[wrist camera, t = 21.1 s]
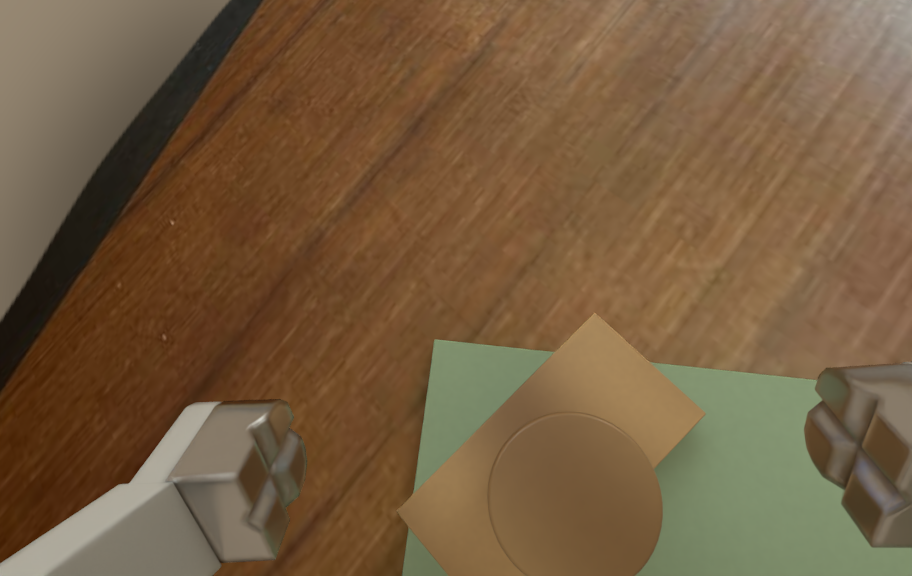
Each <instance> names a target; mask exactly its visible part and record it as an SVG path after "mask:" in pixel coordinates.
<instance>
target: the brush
mask: <svg viewBox="0 0 912 576" xmlns="http://www.w3.org/2000/svg"><path fill="white" fill-rule="evenodd" d="M705 414H706V413H705V412H704V411H703V410H702V409H701V408H700V407H699V406H697V405H696V404H695V403H694V402H693V401H692V400H691V399H690V398H689V397H688V396H686V395H685V394H684V393H683V392H682V391H681V390H680V389H679V388H678V387H677V386H675V385H674V384H673V383H672V382H671V381H670V380H669V379H668V378H667V377H665V376H664V375H663V374H662V373H661V372H660V371H659V370H658V369H657V368H656V367H654V366H653V365H652V364H651V363H650V362H649V361H648V360H647V359H646V358H645V357H643V356H642V355H641V354H640V353H639V352H638V351H637V350H636V349H635V348H634V347H632V346H631V345H630V344H629V343H628V342H627V341H626V340H625V339H624V338H622V337H621V336H620V335H619V334H618V333H617V332H616V331H615V330H614V329H613V328H611V327H610V326H609V325H608V324H607V323H606V322H605V321H604V320H603V319H602V318H600V317H599V316H598V315H597V314H596V313H593V314H592V315H591V316H590V317H589V318H588V319H587V320H586V321H585V322H584V323H583V324H582V325H581V326H580V327H579V328H578V329H577V330H576V331H575V332H574V333H573V334H572V335H571V336H570V337H569V338H568V339H567V340H566V341H565V342H564V343H563V344H562V345H561V346H560V347H559V348H558V349H557V350H556V351H555V352H554V353H553V354H552V355H551V356H550V357H549V358H548V359H547V360H546V361H545V362H544V363H543V364H542V365H541V366H540V367H539V368H538V369H537V370H536V371H535V372H534V373H533V374H532V375H531V376H530V377H529V378H528V379H527V380H526V381H525V382H524V383H523V384H522V385H521V386H520V387H519V388H518V389H517V390H516V391H515V392H514V393H513V394H512V395H511V396H510V397H509V398H508V399H507V400H506V401H505V402H504V403H503V404H502V405H501V406H500V407H499V408H498V409H497V410H496V411H495V413H494V414H493V415H492V416H491V417H490V418H489V419H488V420H487V421H486V422H485V423H484V424H483V425H482V426H481V427H480V428H479V429H478V430H477V431H476V432H475V433H474V434H473V435H472V436H471V437H470V438H469V439H468V440H467V441H466V442H465V443H464V444H463V445H462V446H461V447H460V448H459V449H458V450H457V451H456V452H455V453H454V454H453V455H452V456H451V457H450V458H449V459H448V460H447V461H446V462H445V463H444V464H443V465H442V466H441V467H440V468H439V469H438V470H437V471H436V472H435V473H434V474H433V475H432V476H431V477H430V478H429V479H428V480H427V481H426V482H425V483H424V484H423V485H422V486H421V487H420V488H419V489H418V490H417V491H416V492H415V493H414V494H413V495H412V496H411V497H410V498H409V499H408V500H407V501H406V502H405V503H404V504H403V505H402V506H401V507H400V508H399V509H398V510H397V511H396V512H397V513H398V515H399V516H400V517H401V518H402V520H403V521H404V522H405V523H406V524H407V526H408V527H409V528H410V529H411V531H412V532H413V533H414V534H415V535H416V537H417V538H418V539H419V540H420V542H421V543H422V544H423V545H424V546H425V548H426V549H427V550H428V551H429V553H430V554H431V555H432V556H433V557H434V559H435V560H436V561H437V562H438V564H439V565H440V566H441V567H442V568H443V570H444V571H445V572H446V573H447V575H448V576H635V575H636V574H637V573H639V572H640V571H641V569H642V568H643V567H644V566H645V564H646V563H647V562H648V560H649V559H650V557H651V555H652V553H653V552H654V550H655V547H656V545H657V542H658V540H659V536H660V532H661V528H662V519H663V502H662V495H661V489H660V485H659V482H658V478H657V476H656V473H655V471H654V469H655V468H656V467H657V465H658V464H659V463H660V462H661V461H662V460H663V459H664V458H665V457H666V456H667V455H668V454H669V453H670V452H671V451H672V450H673V449H674V447H675V446H676V445H677V444H678V443H679V442H680V441H681V440H682V439H683V438H684V437H685V436H686V435H687V434H688V433H689V432H690V431H691V429H692V428H693V427H694V426H695V425H696V424H697V423H698V422H699V421H700V420H701V419H702V418H703V417H704V416H705Z"/></svg>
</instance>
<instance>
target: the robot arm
mask: <svg viewBox="0 0 912 576" xmlns="http://www.w3.org/2000/svg"><path fill="white" fill-rule="evenodd" d="M815 391H816V392H817V394H818V395H819V396H820V398H821V399H822V401H821V402H820V403H818V404H817V405H816V406H815V407H814V408H812V409H811V410H810V411H809V412H808V413H807V418H806V422H805V426H804V435H805V442H806V448H807V451H808V453H809V455H810V458H811V460H812V462H813V464H814V465H815V467H816V468H817V470H818V471H819V473H820V474H821V476H822V477H823V478H825V479H827V480H828V481H830V482H832V483H833V484H835V485H836V486H838V487H840V488H841V489H843V493H842V499H841V505H842V506H843V507H844V509H845V510H846V512H847V513H848V515H849V516H850V517H851V519H852V520H853V522H854V523H855V525H856V526H857V527H858V529H859V530H860V532H861V533H862V535H863V536H864V537H865V539H866V540H867V542H868V543H869V545H870V546H871V547H872V548H912V362H904V363H901V364H899V363H895V364H880V365H864V366H848V367H833V368H826V369H825V370H824V371H823V372H822V373H821V374H820V375H819V377H818V380H817V383H816V386H815ZM293 418H294V416H293V414H292V411H291V409H290V407H289V405H288V402H286V401H284V400H281V399H270V400H239V401H223V402H196V403H194V404H192V405H190V406H188V407H186V408H185V409H184V411H183V412H182V413H181V415H180V416H179V417H178V419H177V420H176V421H175V423H174V424H173V425H172V427H171V428H170V429H169V431H168V432H167V434H166V435H165V436H164V438H163V439H162V440H161V442H160V443H159V444H158V446H157V447H156V448H155V450H154V451H153V452H152V454H151V455H150V456H149V458H148V459H147V460H146V462H145V463H144V464H143V466H142V467H141V468H140V470H139V471H138V473H137V474H136V475H135V477H134V478H133V479H132V481H131V482H130V483H129V484H119V485H118V486H116V487H115V488H113V489H112V490H110V491H109V492H107V493H106V494H104V495H103V496H101V497H100V498H98V499H97V500H95V501H94V502H92V503H91V504H89V505H88V506H86V507H85V508H83V509H82V510H80V511H78V512H77V513H75V514H74V515H72V516H71V517H69V518H68V519H66V520H65V521H63V522H62V523H60V524H59V525H57V526H56V527H54V528H53V529H51V530H50V531H48V532H47V533H45V534H44V535H42V536H41V537H39V538H38V539H36V540H35V541H33V542H32V543H30V544H29V545H27V546H26V547H24V548H23V549H21V550H20V551H18V552H17V553H15V554H14V555H12V556H11V557H9V558H8V559H6V560H5V561H3V562H2V563H0V576H213V575H214V574H215V573H216V571H217V570H218V569H219V568H220V567H221V563H227V562H246V561H266V560H275V558H276V556H277V553H278V551H279V548H280V545H281V543H282V540H283V537H284V535H285V532H286V530H287V527H288V524H289V522H290V518H289V516H288V513H287V510H286V507H287V506H288V505H289V504H290V503H291V502H293V501H294V500H295V499H296V498H297V497H298V496H299V495H300V493H301V490H302V487H303V484H304V481H305V476H306V467H307V456H306V449H305V445H304V443H303V440H302V437H301V436H300V435H298V434H297V433H296V432H294V431H293V430H292V429H290V428H289V427H290V425H291V422H292V420H293Z"/></svg>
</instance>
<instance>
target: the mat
mask: <svg viewBox="0 0 912 576" xmlns="http://www.w3.org/2000/svg"><path fill="white" fill-rule="evenodd" d="M553 353H554V352H548V351H539V350H529V349H520V348H511V347H501V346H492V345H482V344H473V343H464V342H454V341H445V340H434V346H433V354H432V361H431V368H430V375H429V383H428V390H427V397H426V405H425V412H424V419H423V426H422V434H421V441H420V448H419V455H418V463H417V470H416V477H415V485H414V492H413V494H414V493H415V492H416V491H417V490H418V489H419V488H420V487H421V486H422V485H423V484H424V483H425V482H426V481H427V480H428V479H429V478H430V477H431V476H432V475H433V474H434V473H435V472H436V471H437V470H438V469H439V468H440V467H441V466H442V465H443V464H444V463H445V462H446V461H447V460H448V459H449V458H450V457H451V456H452V455H453V454H454V453H455V452H456V451H457V450H458V449H459V448H460V447H461V446H462V445H463V444H464V443H465V442H466V441H467V440H468V439H469V438H470V437H471V436H472V435H473V434H474V433H475V432H476V431H477V430H478V429H479V428H480V427H481V426H482V425H483V424H484V423H485V422H486V421H487V420H488V419H489V418H490V417H491V416H492V415H493V414H494V413H495V411H496V410H497V409H498V408H499V407H500V406H501V405H502V404H503V403H504V402H505V401H506V400H507V399H508V398H509V397H510V396H511V395H512V394H513V393H514V392H515V391H516V390H517V389H518V388H519V387H520V386H521V385H522V384H523V383H524V382H525V381H526V380H527V379H528V378H529V377H530V376H531V375H532V374H533V373H534V372H535V371H536V370H537V369H538V368H539V367H540V366H541V365H542V364H543V363H544V362H545V361H546V360H547V359H548V358H549V357H550V356H551V355H552V354H553ZM650 363H651V362H650ZM651 364H652V365H653V366H654V367H656V368H657V369H658V370H659V371H660V372H661V373H662V374H663V375H664V376H665V377H667V378H668V379H669V380H670V381H671V382H672V383H673V384H674V385H675V386H677V387H678V388H679V389H680V390H681V391H682V392H683V393H684V394H685V395H686V396H688V397H689V398H690V399H691V400H692V401H693V402H694V403H695V404H696V405H697V406H699V407H700V408H701V409H702V410H703V411H704V412H705V413H706V414H705V416H704V417H703V418H702V419H701V420H700V421H699V422H698V423H697V424H696V425H695V426H694V427H693V428H692V429H691V431H690V432H689V433H688V434H687V435H686V436H685V437H684V438H683V439H682V440H681V441H680V442H679V443H678V444H677V445H676V446H675V447H674V449H673V450H672V451H671V452H670V453H669V454H668V455H667V456H666V457H665V458H664V459H663V460H662V461H661V462H660V463H659V464H658V465H657V467H656V468H655V469H654V471H655V473H656V476H657V478H658V482H659V485H660V489H661V495H662V502H663V519H662V528H661V532H660V536H659V540H658V542H657V545H656V547H655V550H654V552H653V553H652V555H651V557H650V559H649V560H648V562H647V563H646V564H645V566H644V567H643V568H642V569H641V571H640V572H639V573H637V574H636V575H635V576H912V548H872V547H871V546H870V545H869V543H868V542H867V540H866V539H865V537H864V536H863V535H862V533H861V532H860V530H859V529H858V527H857V526H856V525H855V523H854V522H853V520H852V519H851V517H850V516H849V515H848V513H847V512H846V510H845V509H844V507H843V506H842V505H841V499H842V493H843V489H841V488H840V487H838V486H836V485H835V484H833V483H832V482H830V481H828V480H827V479H825V478H823V477H822V476H821V474H820V473H819V471H818V470H817V468H816V467H815V465H814V464H813V462H812V460H811V458H810V455H809V453H808V451H807V448H806V442H805V435H804V426H805V422H806V418H807V413H808V412H809V411H810V410H811V409H812V408H814V407H815V406H816V405H817V404H818V403H820V402H821V401H822V399H821V398H820V396H819V395H818V394H817V392H816V391H815V386H816V383H817V380H811V379H801V378H792V377H782V376H773V375H764V374H754V373H745V372H736V371H726V370H717V369H707V368H698V367H689V366H679V365H670V364H661V363H651ZM402 576H448V575H447V573H446V572H445V571H444V570H443V568H442V567H441V566H440V565H439V564H438V562H437V561H436V560H435V559H434V557H433V556H432V555H431V554H430V553H429V551H428V550H427V549H426V548H425V546H424V545H423V544H422V543H421V542H420V540H419V539H418V538H417V537H416V535H415V534H414V533H413V532H412V531H411V529H410V528H408V536H407V543H406V550H405V557H404V565H403V572H402Z"/></svg>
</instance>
